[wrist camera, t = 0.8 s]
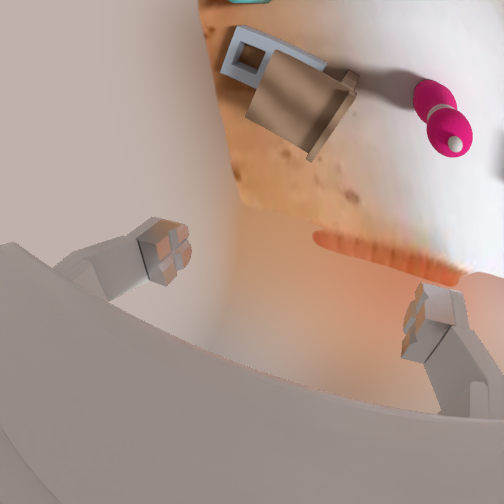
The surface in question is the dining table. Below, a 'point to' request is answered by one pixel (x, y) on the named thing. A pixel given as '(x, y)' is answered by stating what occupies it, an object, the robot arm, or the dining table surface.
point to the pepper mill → (442, 119)
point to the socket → (268, 45)
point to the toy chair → (300, 102)
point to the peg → (250, 1)
